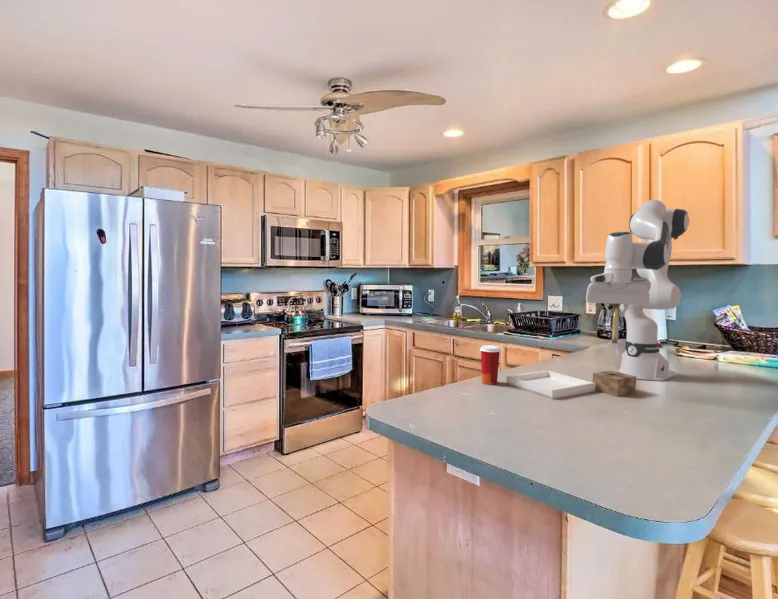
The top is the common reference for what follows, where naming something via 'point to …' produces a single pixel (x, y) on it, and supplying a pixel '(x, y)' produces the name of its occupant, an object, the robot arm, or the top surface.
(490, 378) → the paper cup
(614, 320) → the brass pin
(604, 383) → the walnut block
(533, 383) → the off-white tray
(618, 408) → the top surface
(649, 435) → the top surface
